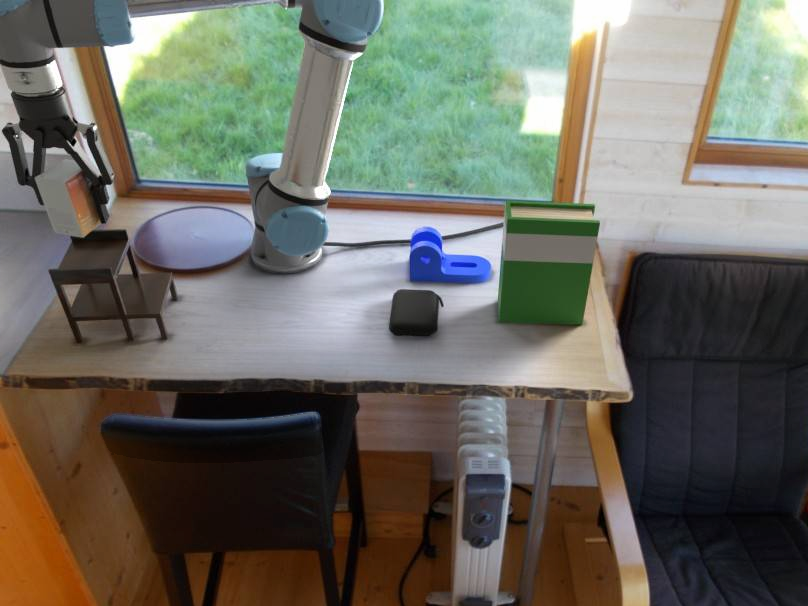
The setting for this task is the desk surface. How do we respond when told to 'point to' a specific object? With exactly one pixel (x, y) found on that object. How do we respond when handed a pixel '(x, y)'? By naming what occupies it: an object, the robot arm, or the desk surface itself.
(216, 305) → the desk surface
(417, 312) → the carrying case
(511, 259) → the hardback book
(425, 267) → the bracket
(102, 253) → the rack
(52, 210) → the small box
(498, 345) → the desk surface
